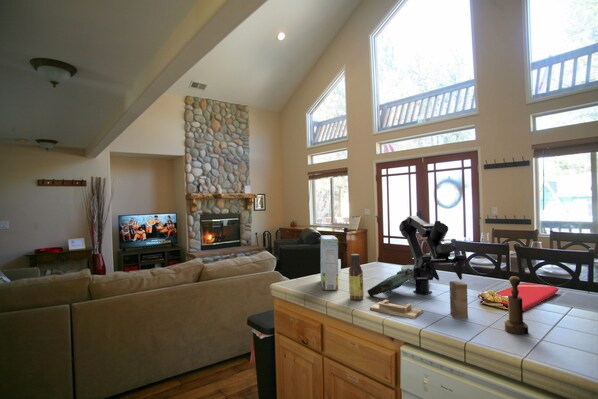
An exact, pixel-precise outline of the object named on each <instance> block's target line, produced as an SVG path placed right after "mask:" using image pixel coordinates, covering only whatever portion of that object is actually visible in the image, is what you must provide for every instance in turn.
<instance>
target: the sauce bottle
mask: <svg viewBox="0 0 598 399" xmlns="http://www.w3.org/2000/svg"><path fill="white" fill-rule="evenodd" d="M350 262H351V263H350V266H349V269H348V286H349V288H348V289H349V298H350V299H351V300H354V301H360V300H363V299H364V296H365V295H364V273H363V269H362V267H361V264H360V263H361V262H360V253H359V254H358V253H352V254H350Z"/></svg>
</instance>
